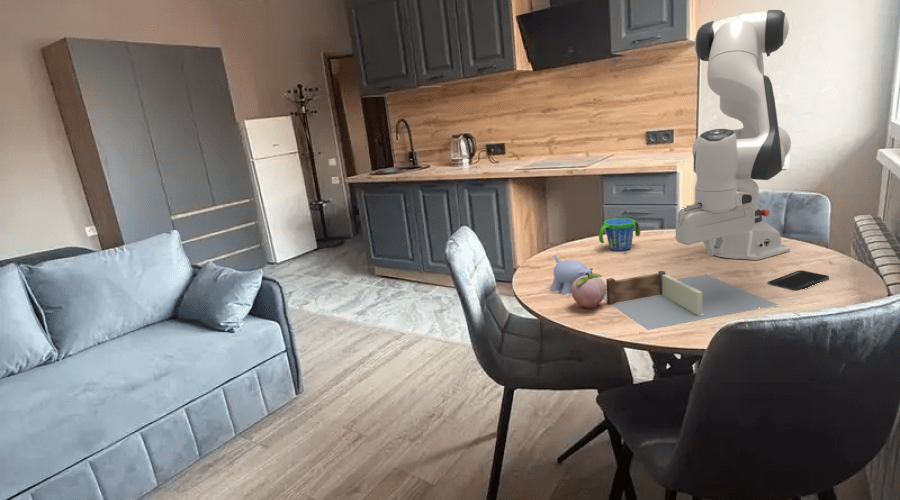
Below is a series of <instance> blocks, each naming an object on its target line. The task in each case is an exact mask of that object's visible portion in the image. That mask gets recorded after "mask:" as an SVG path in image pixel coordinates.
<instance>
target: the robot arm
mask: <svg viewBox="0 0 900 500" xmlns="http://www.w3.org/2000/svg"><path fill="white" fill-rule="evenodd" d="M789 28H790V26H789V20H788V18H787V16H786V12H784V11H783V10H782V9H781V10H780V9H768V10H767V11H754V12H748V13H741V14H738V15H734V16H730V17H726V18H722V19H719V20H717V21H714V20H712V21H708V22H706V23H704V24H702V25H701V26H700V27H699V29H697V32H696V35H695V38H694V51H695V52H696V53H695V54H696V56H697V58H698V59H699V60H700V61H702V62H708V63H707V75H706V78H707V84H708V87H709V88H710V89H711V91H712V92H713V93H714V94H716V95H718V96H719V109H720V111H721V113H722V114H723V115H725V116H727V117H730V118H732V119H735V120H738V121H739V122H741V123H742V125H743V127H742V128H739V129H727V128H715V129H711V130H706V131H704V132H703V133H701V134H700V135H699V136H698V137H697V138H696V139H695V140H694V141H693V142H694V143H693V145H692V150H691V153H692V157H693V172H694V173H695V174H696V182H695V187H694V203H692V204H690V205H689V204H688V205H685V206H683V207H682V208H681V209H680V210H679V211H678V213H677V220H676V221H677V222H676V227H675V240H676V241H677V243H680V244H682V245H686V246H689V245H693V244H697V243H701V242H702V243H703V244H704V246H705V248H706V254H707V256H711V257H712V256H715V257H716V256H717V257H719V258H720V257H721V258H726V259H737V260H750V261H752V260H753V261H758V260H763V259H765V258H766V259H767V258H769V257H773V256H777V255H780V254H785V253H788V252H790V249H791V248H790V247H789V246H787V245H785V244H783V243H782V237H781V233H780V231H779V230H777V229H776V228H774V227H773V226H771V225H770V224H769V223H767V222H765V221H764V219H763V217H769V216H770V214H771V212H770V210H769V209H761V210H760V209H759V185H758V183H757V182H756V181H755V180H760V181H768V180H770V179H772V178H774V177H775V176H777V175H778V174H779V173H781V172H782V171H783V167H784V165H785V161H786V157H787V156H788V154H789V152H790V150H791V146H792V145H791V144H792V142H791V137H790V135H789V133H788V132H787V131H786V130H785V129H783V128H782V127H781V126H779V121H778V119H779V118H778V113H777V106H776V99H775V94H774V91H773V90H774V88H773V84H772V81H771V79H770V77H769V76H767V75H766V74H765V67H764V63H765V62H764V57H763V56H764V55H763V54H766V57H770V55H771V53H774V52H777V51H778V50H779V49H780V48H781V47H782V46H783V45H784V44H785V41H786V39H787V38H788V35H789ZM762 216H763V217H762Z"/></svg>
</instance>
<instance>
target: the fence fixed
mask: <svg viewBox="0 0 900 500" xmlns="http://www.w3.org/2000/svg"><path fill="white" fill-rule="evenodd" d="M665 274H666V271H665V270H658V271H657V272H656V273H652V274H650V273H649V274H644V275H640V276H634V277H633V276H632V277H627V278H622V279H615V278H613V277H610V278H606V279H605V280H606V282H605V283H606V287H607V291H606V292H607V301H606V303H607V304H609V305H611V304H615V303H616V302H619V301H624V300H630V299H636V298H641V297H647V296H652V295H658V294H659V295H662V275H665Z"/></svg>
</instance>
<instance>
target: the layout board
mask: <svg viewBox="0 0 900 500" xmlns="http://www.w3.org/2000/svg"><path fill="white" fill-rule="evenodd" d="M676 279H677V278H676ZM677 280H679V281H681V282H683V283H685V284H687V285H689V286H691V287H693V288H695V289H697V290H699V291H701V292H702V314H699V315H697V314H695V313H693V312H691V311H690V310H688V309H686V308H684V307H683V306H681V305H679V304H678V303H676V302H674V301H672V300H671V299H669V298H667V297H665V296H664V295H659V294H658V295H652V296H647V297H641V298H636V299H630V300H624V301H619V302H616V303H615V304H610V305H611V306H612V307H614V308H616V309H617V310H619V311H620V312H621V313H623V314H624V315H626V316H627V317H628V318H630V319H632V320H633V321H634V322H636V323H638V324H639V325H640V326H642V327H643V328H644V329H646V330H648V331H649V330H655V329H659V328H665V327H669V326H675V325H676V326H677V325H680V324H681V325H682V324H685V323H690V322H697V321H703V320H706V319H713V318H717V317H724V316H727V315H732V314H734V315H735V314H738V313H745V312H747V311H754V310H759V309H758V308H759V307H760V309H763V308H764V309H765V308H770V307H775V306H779V304H778V303H776V302H773V301H770V300H768V299H766V298H764V297H761V296H758V294H757V295H756V294H754V293H752V292H749V291H747V290H745V289H742V288H740V287H737V286H736V285H733V284H731V283H727V282H725V281H723V280H721V279H718V278H716V277H714V276H711V275H708V274H701V275H694V276H688V277H684V278H678V279H677ZM603 300H604V301H605V302H607V291H606V294H605V296H604V298H603Z"/></svg>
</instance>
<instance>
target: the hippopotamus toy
mask: <svg viewBox="0 0 900 500" xmlns="http://www.w3.org/2000/svg"><path fill="white" fill-rule="evenodd" d="M551 258H554V259H555V262H556V264H555V266H554V267H553V281H552V285H551V288H550V291H551V292H555V293H559V292H561V293H560V294H561V295H562V296H564V295H565V296H566V297H567V296H572V293H571V287H572V284H573V282H574V281H575V280H576V279H577V278H579V277H581V276H585V275H587V273H589V274H592V273H594V272H593V270H594V269H593V267H592V266H590V267H589V268H587V266H586V265H585V264H584V263H583V262H580V261H578V260H574V259H565V260H560V258H559V257H558V256H556V255H552V257H551Z"/></svg>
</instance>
